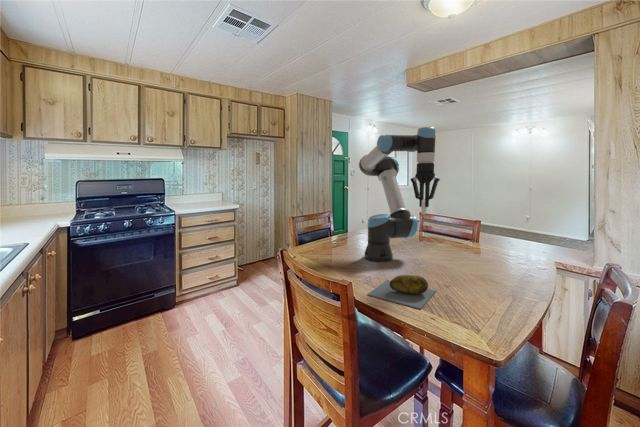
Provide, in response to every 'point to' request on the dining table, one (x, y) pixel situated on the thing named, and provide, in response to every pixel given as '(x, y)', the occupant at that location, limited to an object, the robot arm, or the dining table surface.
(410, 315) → the dining table surface
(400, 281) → the potato
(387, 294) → the mat
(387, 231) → the robot arm
